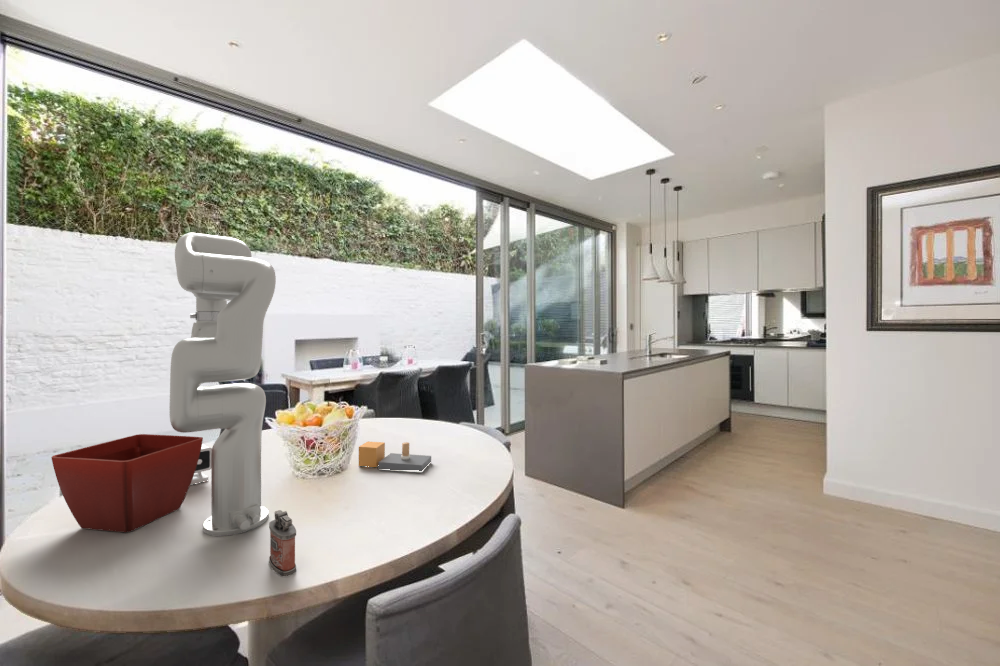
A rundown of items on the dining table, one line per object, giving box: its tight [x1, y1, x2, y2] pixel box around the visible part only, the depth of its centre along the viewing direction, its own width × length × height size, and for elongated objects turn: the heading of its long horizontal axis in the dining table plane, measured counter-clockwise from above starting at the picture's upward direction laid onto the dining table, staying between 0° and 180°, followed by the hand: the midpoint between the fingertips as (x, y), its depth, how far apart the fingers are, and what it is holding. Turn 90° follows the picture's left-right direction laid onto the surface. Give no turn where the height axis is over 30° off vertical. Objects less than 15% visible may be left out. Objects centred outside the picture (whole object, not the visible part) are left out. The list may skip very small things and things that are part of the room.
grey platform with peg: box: [378, 441, 432, 471], centre depth 131 cm, size 14×9×8 cm, turn 81°
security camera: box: [190, 443, 212, 486], centre depth 116 cm, size 6×7×10 cm
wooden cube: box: [358, 441, 386, 468], centre depth 133 cm, size 6×6×6 cm
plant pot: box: [51, 433, 204, 533], centre depth 95 cm, size 19×19×17 cm
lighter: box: [268, 509, 297, 578], centre depth 77 cm, size 8×3×10 cm, turn 47°
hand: (211, 375), depth 124 cm, fingers open, 9 cm apart
